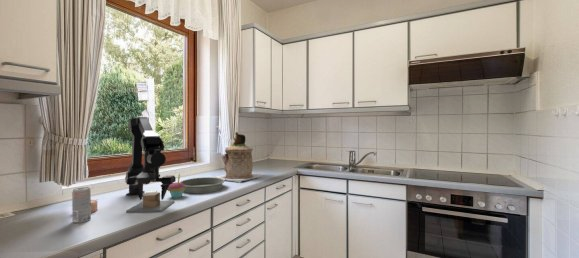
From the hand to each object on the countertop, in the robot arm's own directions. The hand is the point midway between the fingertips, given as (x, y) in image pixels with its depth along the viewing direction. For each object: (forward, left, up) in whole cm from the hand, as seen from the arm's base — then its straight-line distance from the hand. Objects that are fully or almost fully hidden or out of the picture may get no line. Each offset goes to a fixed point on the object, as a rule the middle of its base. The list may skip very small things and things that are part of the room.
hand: (151, 199), depth 114 cm
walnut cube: (0, 0, -2) cm, 3 cm away
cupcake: (-17, +4, -4) cm, 18 cm away
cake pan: (-34, +12, -4) cm, 36 cm away
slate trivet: (0, 0, -3) cm, 3 cm away
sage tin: (-12, -6, -3) cm, 14 cm away
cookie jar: (-64, +28, -4) cm, 70 cm away
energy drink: (+16, -18, -4) cm, 24 cm away
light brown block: (+5, -24, -4) cm, 25 cm away
